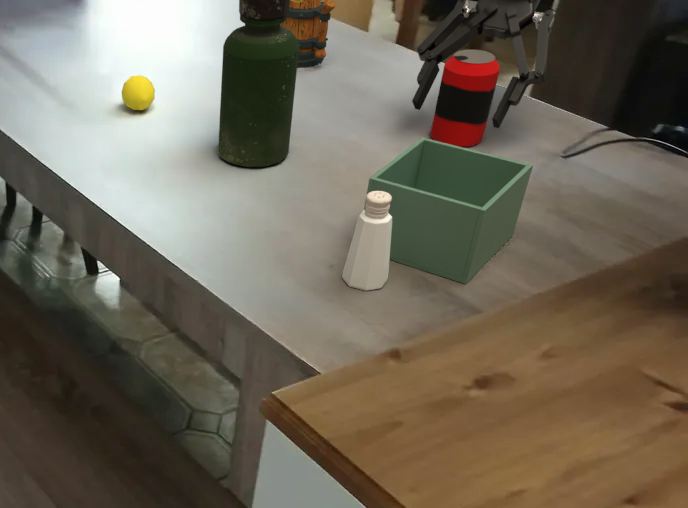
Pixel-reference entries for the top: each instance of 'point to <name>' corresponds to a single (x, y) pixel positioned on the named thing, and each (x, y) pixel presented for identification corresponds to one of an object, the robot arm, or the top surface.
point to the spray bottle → (258, 86)
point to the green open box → (450, 206)
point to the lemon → (138, 92)
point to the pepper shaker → (370, 245)
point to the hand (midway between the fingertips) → (454, 114)
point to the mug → (309, 28)
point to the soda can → (465, 98)
